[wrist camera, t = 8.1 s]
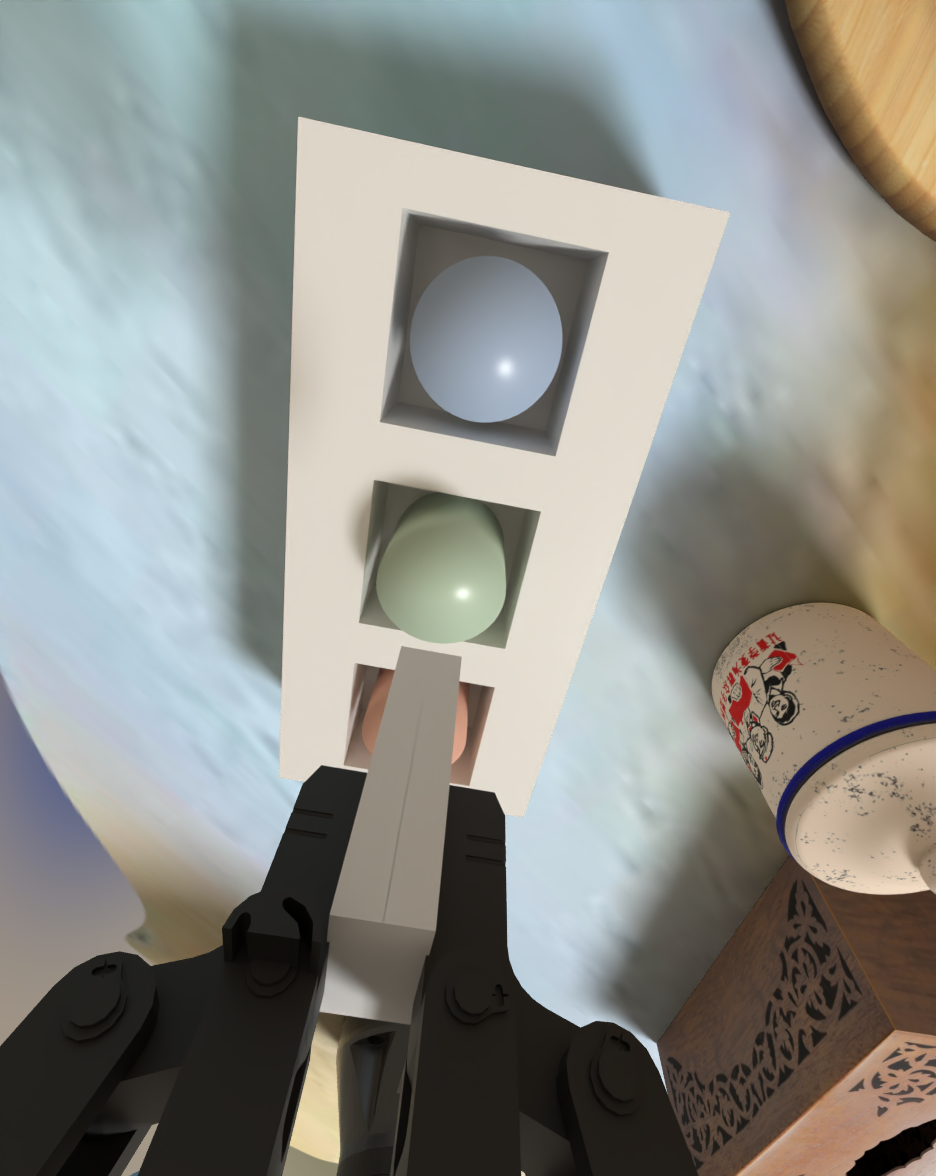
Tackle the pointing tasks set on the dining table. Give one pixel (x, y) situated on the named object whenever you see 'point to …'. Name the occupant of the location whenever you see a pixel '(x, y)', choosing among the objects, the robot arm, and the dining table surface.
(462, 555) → the button sage
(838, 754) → the teacup with lid
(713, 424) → the dining table surface
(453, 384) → the button slate
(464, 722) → the button terracotta
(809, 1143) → the tissue box cover
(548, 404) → the tray
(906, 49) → the wooden plate with food
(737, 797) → the dining table surface
